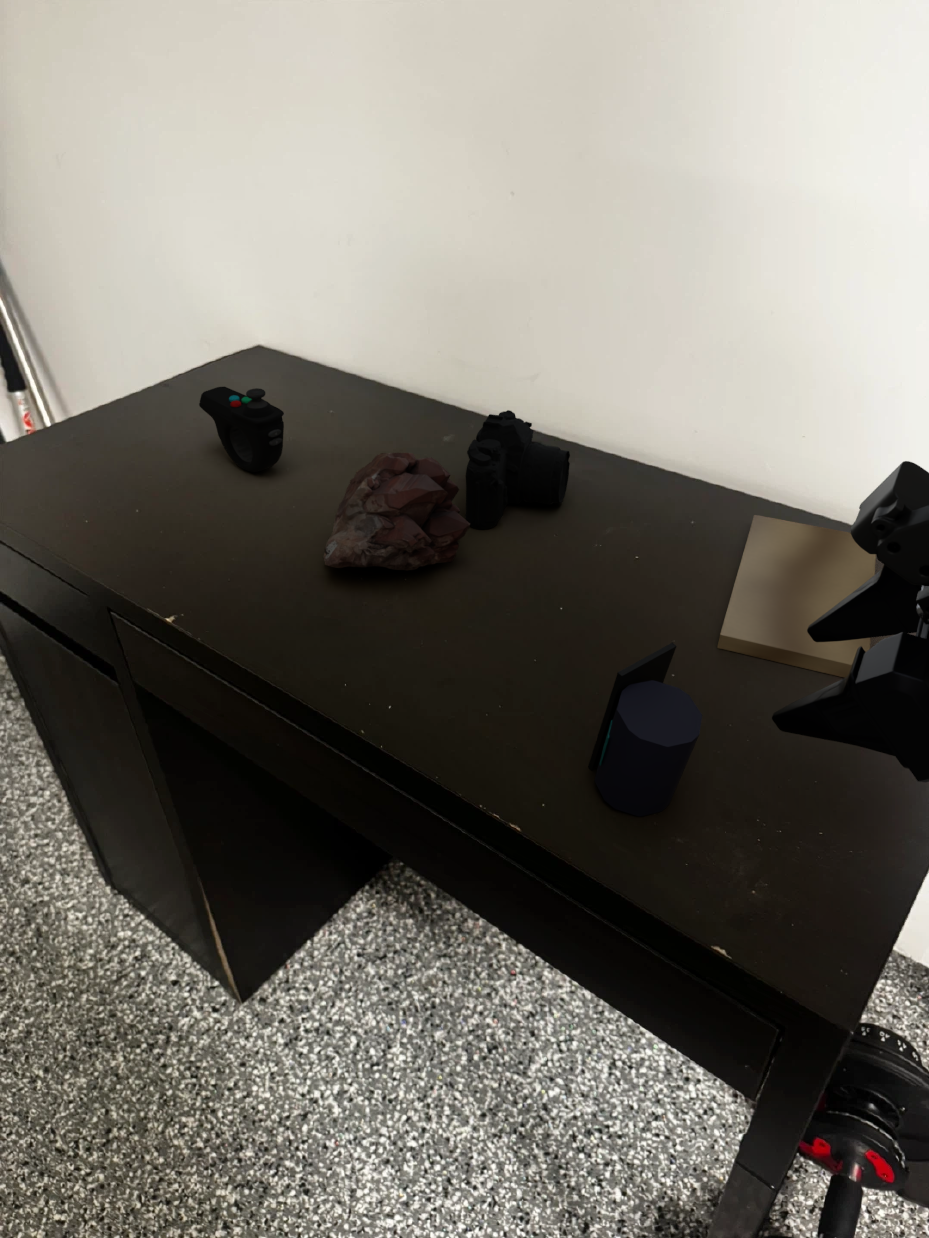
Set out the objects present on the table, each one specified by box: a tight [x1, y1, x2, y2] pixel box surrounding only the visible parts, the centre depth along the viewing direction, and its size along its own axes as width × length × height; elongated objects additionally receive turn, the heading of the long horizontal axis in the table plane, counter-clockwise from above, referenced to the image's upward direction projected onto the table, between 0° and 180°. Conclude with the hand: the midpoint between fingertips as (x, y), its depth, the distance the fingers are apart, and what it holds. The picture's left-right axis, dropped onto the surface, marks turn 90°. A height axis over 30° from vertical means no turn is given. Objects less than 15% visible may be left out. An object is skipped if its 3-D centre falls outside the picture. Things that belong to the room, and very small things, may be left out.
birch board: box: [716, 514, 877, 679], centre depth 83 cm, size 12×22×2 cm, turn 158°
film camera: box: [464, 409, 571, 530], centre depth 95 cm, size 15×10×9 cm, turn 163°
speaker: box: [587, 642, 703, 818], centre depth 61 cm, size 8×6×10 cm
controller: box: [198, 386, 285, 473], centre depth 101 cm, size 4×12×10 cm, turn 47°
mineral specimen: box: [322, 452, 471, 572], centre depth 85 cm, size 12×13×15 cm
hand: (794, 676), depth 53 cm, fingers open, 9 cm apart
